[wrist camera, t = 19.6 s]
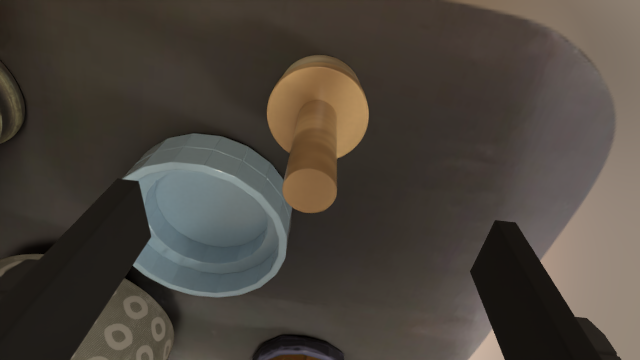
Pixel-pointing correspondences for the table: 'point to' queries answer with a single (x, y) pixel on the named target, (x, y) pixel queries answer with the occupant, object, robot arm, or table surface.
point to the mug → (297, 349)
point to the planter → (121, 324)
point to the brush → (316, 127)
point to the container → (10, 105)
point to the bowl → (211, 216)
